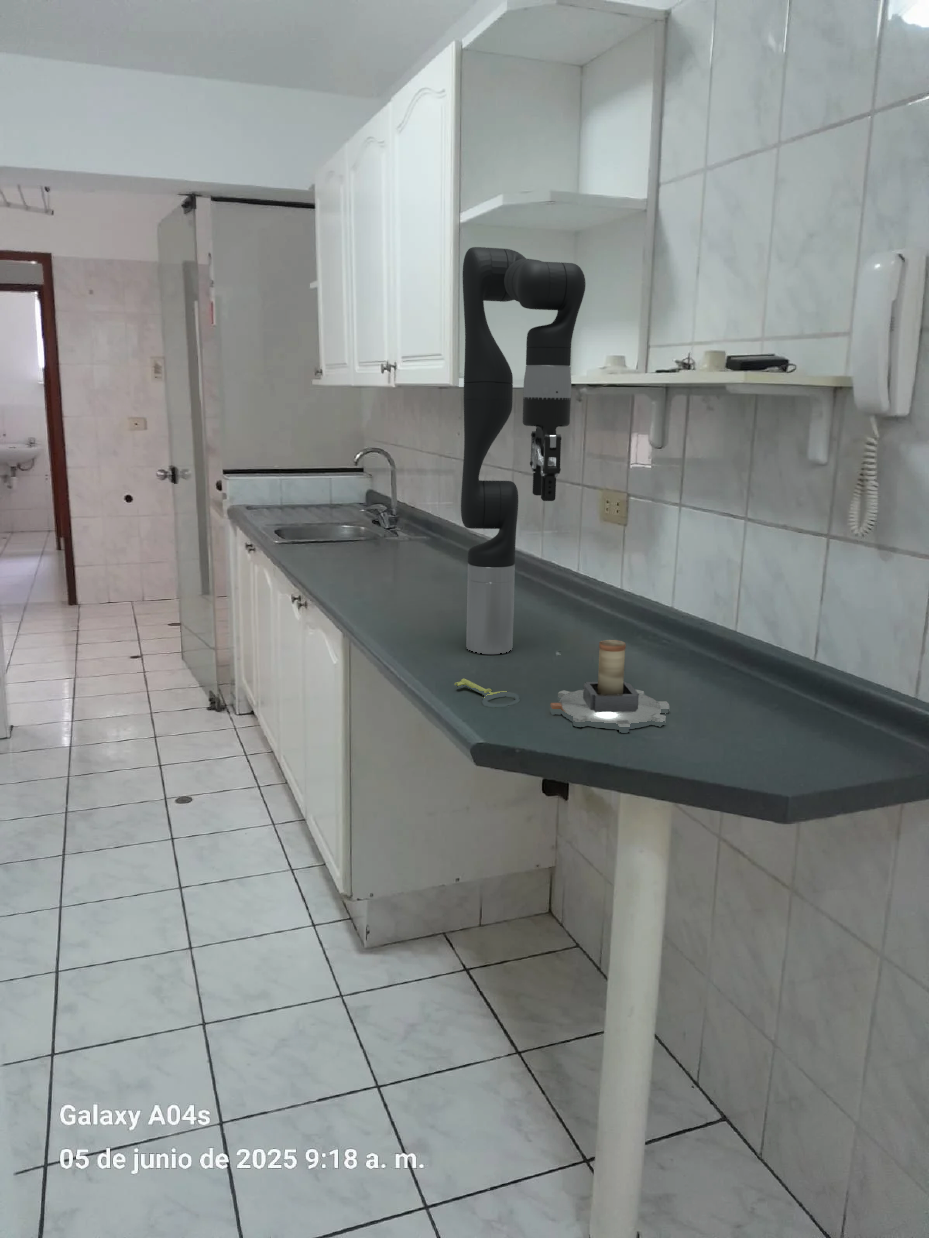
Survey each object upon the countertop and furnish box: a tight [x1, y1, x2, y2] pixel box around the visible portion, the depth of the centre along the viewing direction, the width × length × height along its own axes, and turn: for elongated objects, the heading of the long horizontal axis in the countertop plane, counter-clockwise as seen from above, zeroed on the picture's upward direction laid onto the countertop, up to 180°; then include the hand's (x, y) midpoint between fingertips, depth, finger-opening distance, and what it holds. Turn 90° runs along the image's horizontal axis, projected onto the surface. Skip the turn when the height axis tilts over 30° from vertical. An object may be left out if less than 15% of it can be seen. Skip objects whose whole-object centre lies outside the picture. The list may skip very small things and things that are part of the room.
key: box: [454, 678, 507, 698], centre depth 158 cm, size 7×12×2 cm, turn 60°
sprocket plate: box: [549, 681, 670, 727], centre depth 151 cm, size 19×19×4 cm
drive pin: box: [597, 639, 627, 694], centre depth 150 cm, size 4×4×10 cm
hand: (543, 497), depth 154 cm, fingers open, 8 cm apart
